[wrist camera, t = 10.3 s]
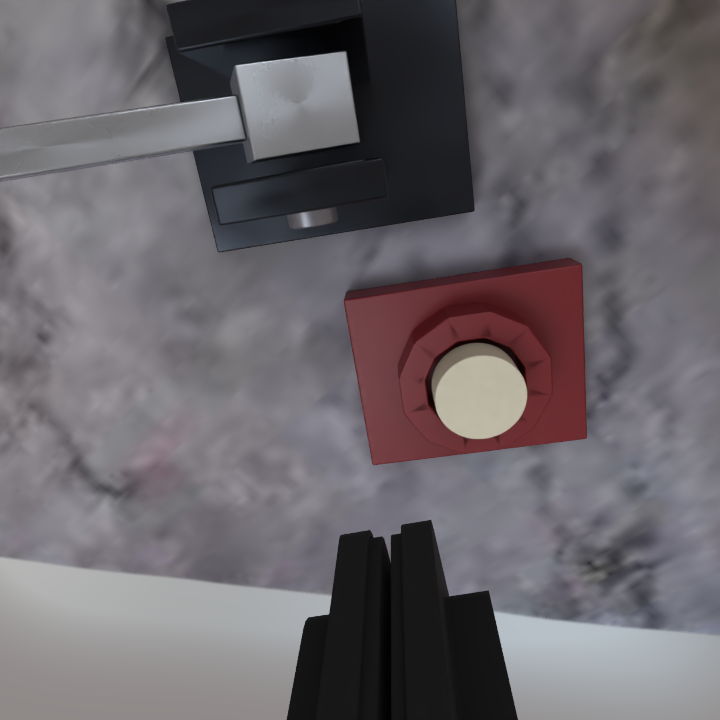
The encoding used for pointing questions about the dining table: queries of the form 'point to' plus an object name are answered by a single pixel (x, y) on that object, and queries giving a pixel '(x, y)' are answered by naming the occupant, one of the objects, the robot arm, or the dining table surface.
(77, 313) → the dining table surface
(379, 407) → the button base
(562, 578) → the dining table surface
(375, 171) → the switch bracket
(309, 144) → the switch lever
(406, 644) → the robot arm
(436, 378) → the warm button
